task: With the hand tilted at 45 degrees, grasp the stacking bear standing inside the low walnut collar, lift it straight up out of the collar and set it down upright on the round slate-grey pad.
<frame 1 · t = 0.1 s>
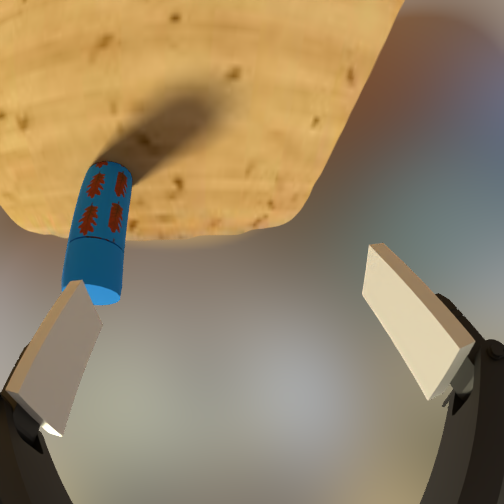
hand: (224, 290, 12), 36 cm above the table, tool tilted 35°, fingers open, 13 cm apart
thermos: (109, 178, 50), on the table
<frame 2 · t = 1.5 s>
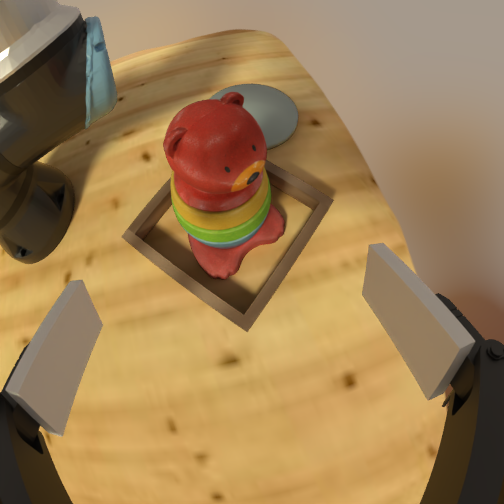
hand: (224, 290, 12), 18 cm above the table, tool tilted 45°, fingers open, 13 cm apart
stacking bear: (228, 226, 32), resting in collar
collar: (228, 225, 32), on the table
pad: (250, 116, 37), on the table
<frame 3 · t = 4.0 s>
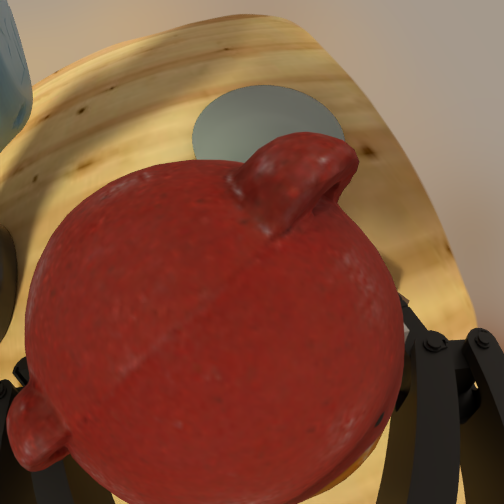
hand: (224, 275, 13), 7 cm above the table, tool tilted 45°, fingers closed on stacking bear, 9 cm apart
stacking bear: (240, 341, 19), resting in collar, touching gripper
pad: (269, 137, 24), on the table
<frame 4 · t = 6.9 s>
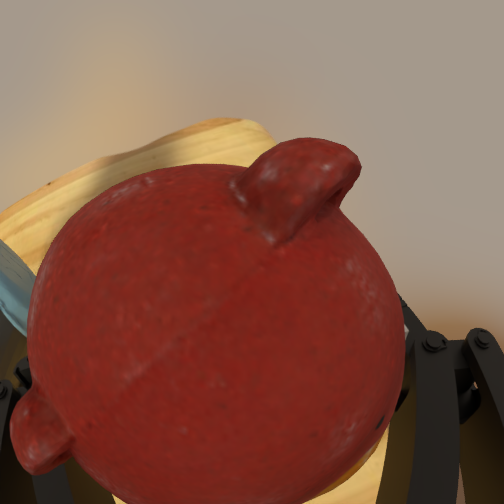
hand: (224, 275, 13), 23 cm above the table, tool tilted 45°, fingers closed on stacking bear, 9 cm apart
stacking bear: (241, 342, 19), point 15 cm above the table, touching gripper
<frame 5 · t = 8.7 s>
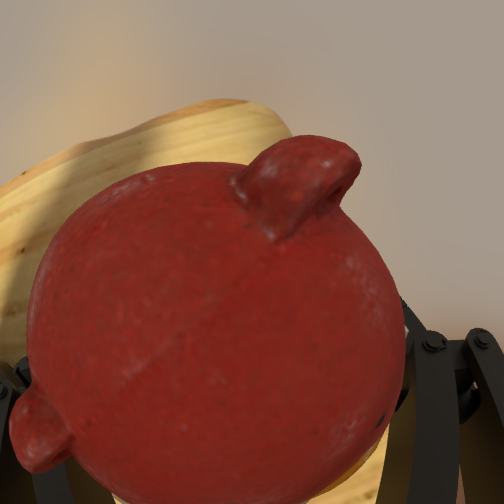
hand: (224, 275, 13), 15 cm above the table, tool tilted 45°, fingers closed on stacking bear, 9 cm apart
stacking bear: (241, 341, 19), point 7 cm above the table, touching gripper
when the fingers open (10 cm above the table, at t = 10.2 s): stacking bear drops 1 cm, resting on pad.
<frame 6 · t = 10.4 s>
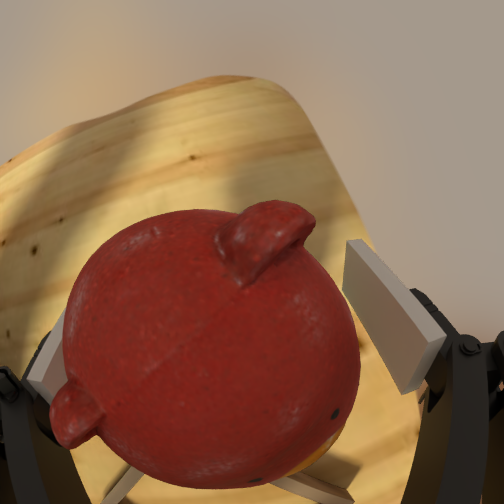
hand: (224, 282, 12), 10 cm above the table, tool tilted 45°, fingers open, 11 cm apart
stacking bear: (237, 342, 20), point 1 cm above the table, touching pad
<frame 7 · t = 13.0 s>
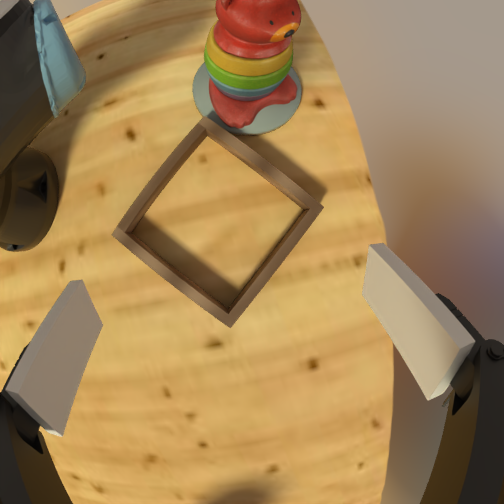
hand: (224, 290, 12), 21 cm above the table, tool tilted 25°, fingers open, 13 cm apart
stacking bear: (246, 86, 31), point 1 cm above the table, touching pad
collar: (216, 220, 32), on the table
pad: (247, 88, 31), on the table
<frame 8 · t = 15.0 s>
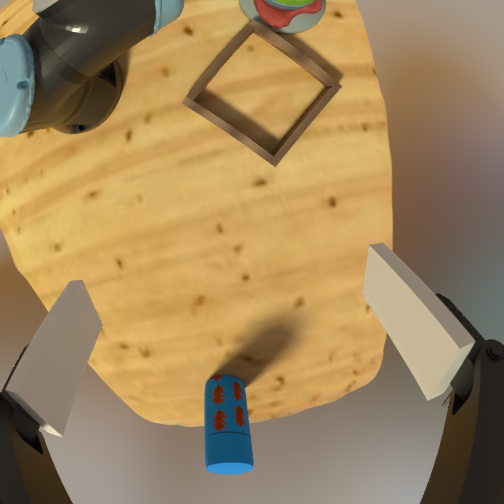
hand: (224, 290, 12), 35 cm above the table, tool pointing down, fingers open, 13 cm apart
thermos: (224, 385, 69), on the table
collar: (262, 91, 38), on the table
pad: (282, 0, 30), on the table
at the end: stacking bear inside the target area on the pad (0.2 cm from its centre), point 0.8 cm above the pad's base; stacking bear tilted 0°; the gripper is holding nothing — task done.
